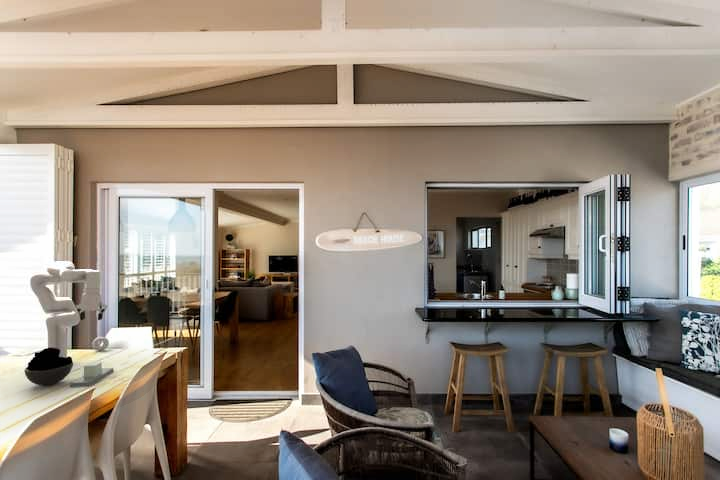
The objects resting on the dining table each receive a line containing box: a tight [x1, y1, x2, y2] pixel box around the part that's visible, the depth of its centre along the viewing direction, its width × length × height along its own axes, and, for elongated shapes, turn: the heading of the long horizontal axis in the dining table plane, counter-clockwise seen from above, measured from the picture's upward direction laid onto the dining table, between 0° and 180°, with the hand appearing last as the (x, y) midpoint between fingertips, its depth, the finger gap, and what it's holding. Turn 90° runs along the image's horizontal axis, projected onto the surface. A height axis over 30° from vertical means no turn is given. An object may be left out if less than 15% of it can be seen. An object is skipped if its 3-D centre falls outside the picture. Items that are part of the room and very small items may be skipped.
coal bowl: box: [24, 347, 74, 387], centre depth 204 cm, size 20×20×19 cm
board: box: [69, 367, 114, 388], centre depth 212 cm, size 10×24×2 cm, turn 8°
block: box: [83, 361, 103, 377], centre depth 212 cm, size 6×6×6 cm
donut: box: [91, 336, 110, 352], centre depth 271 cm, size 10×4×10 cm, turn 117°
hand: (91, 319), depth 230 cm, fingers open, 9 cm apart
